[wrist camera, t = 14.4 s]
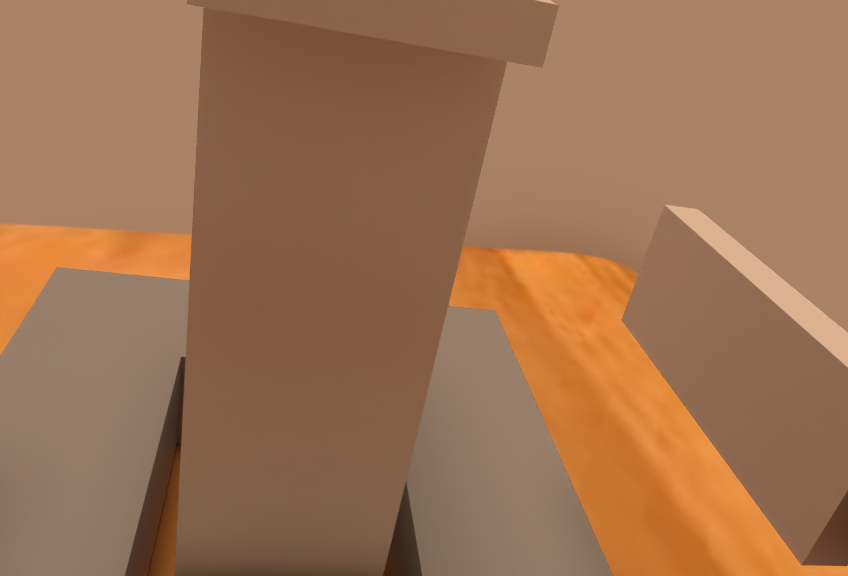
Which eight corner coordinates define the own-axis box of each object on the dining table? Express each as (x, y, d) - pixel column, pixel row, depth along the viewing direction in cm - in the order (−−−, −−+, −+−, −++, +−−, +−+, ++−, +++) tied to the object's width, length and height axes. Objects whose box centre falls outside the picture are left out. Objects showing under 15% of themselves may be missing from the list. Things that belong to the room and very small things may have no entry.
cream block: (156, 741, 14) (193, -160, 7) (211, 430, 22) (254, -138, 15) (366, 735, 15) (578, -72, 8) (345, 438, 22) (444, -96, 16)
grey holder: (-290, 1024, 10) (-358, 916, 8) (60, 349, 23) (57, 267, 22) (663, 928, 13) (729, 837, 11) (475, 381, 26) (495, 310, 25)
